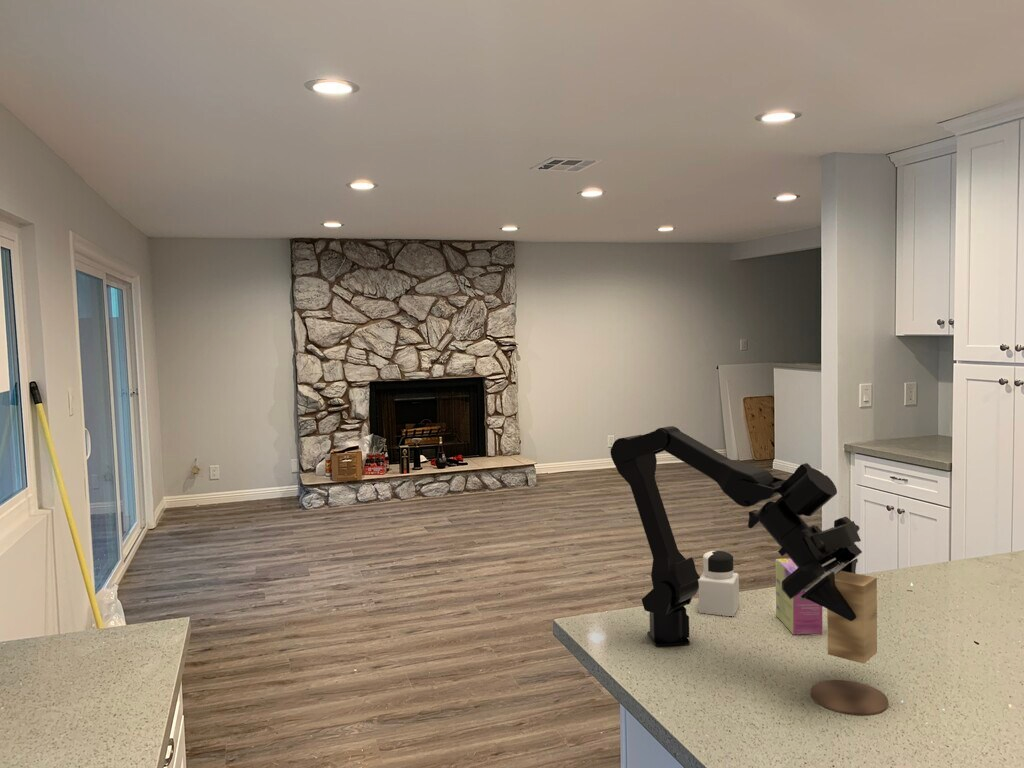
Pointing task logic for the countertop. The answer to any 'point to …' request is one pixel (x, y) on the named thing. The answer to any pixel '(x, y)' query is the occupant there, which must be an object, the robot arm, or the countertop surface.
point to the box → (795, 605)
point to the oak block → (861, 633)
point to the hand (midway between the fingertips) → (861, 614)
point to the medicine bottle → (718, 585)
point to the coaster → (849, 697)
